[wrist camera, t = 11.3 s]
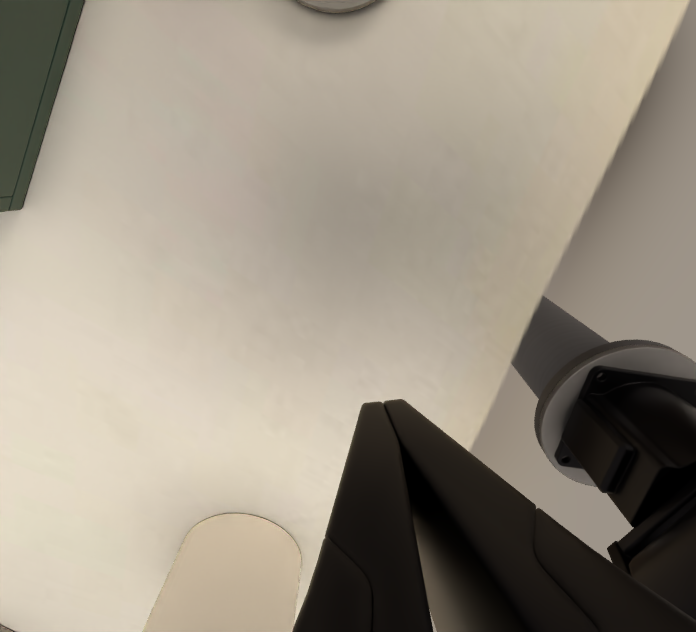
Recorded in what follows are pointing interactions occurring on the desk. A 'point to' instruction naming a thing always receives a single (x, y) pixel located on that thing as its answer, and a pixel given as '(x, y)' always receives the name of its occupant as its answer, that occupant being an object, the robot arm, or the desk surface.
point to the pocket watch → (335, 5)
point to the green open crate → (29, 84)
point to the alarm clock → (4, 629)
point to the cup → (230, 579)
